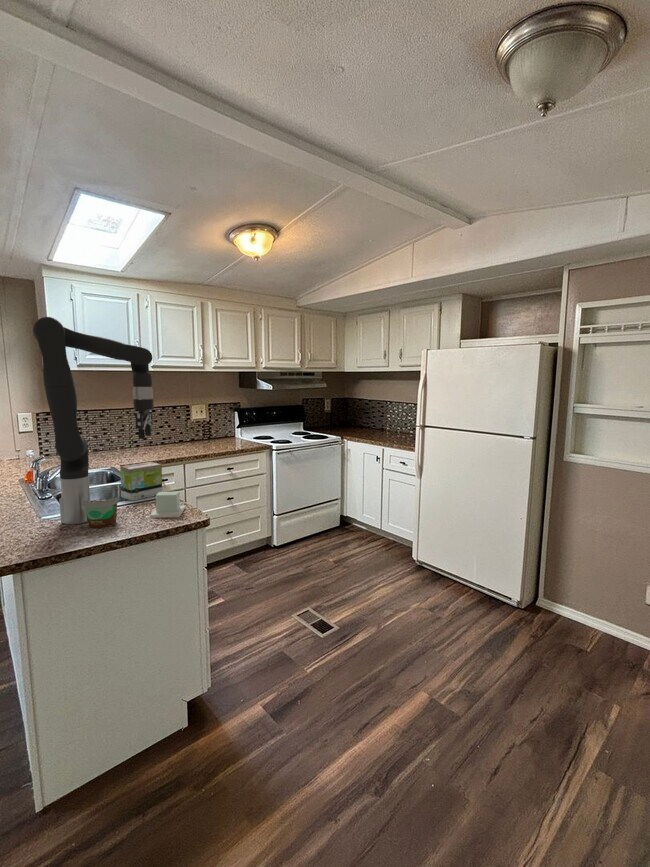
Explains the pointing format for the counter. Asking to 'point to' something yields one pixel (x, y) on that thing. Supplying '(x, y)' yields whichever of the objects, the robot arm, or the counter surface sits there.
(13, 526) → the counter surface
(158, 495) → the block
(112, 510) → the food container
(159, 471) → the tea box
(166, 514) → the stub plate
